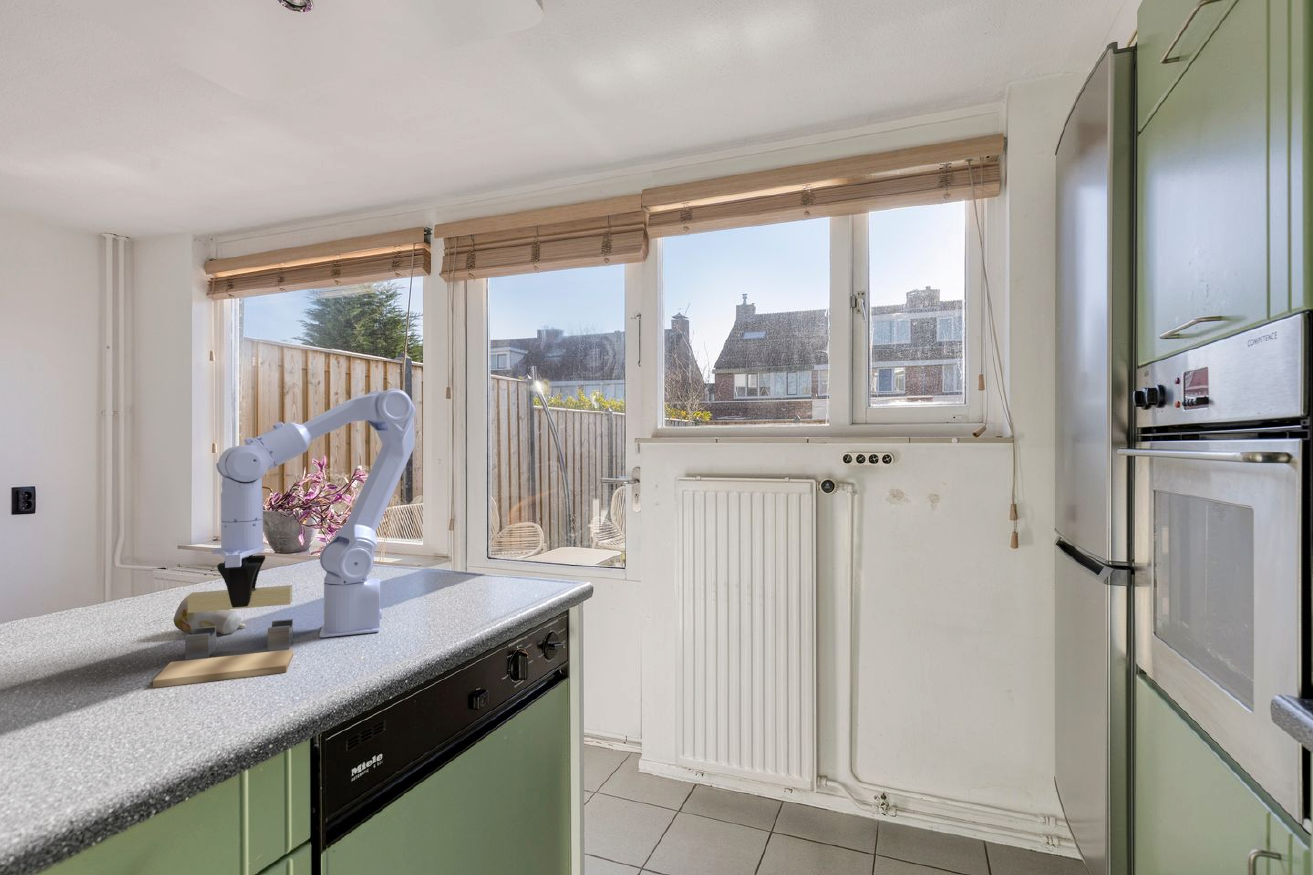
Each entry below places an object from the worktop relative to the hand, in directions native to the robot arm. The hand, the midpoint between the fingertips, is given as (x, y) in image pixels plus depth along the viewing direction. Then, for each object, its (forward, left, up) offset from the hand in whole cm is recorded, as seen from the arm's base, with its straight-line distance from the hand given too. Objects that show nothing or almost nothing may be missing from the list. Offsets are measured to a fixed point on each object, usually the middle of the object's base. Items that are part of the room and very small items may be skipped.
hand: (242, 604), depth 106 cm
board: (0, +10, -7) cm, 12 cm away
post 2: (-5, 0, -7) cm, 9 cm away
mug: (+7, -14, -8) cm, 17 cm away
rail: (0, 0, 0) cm, 0 cm away
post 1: (+6, 0, -7) cm, 9 cm away
